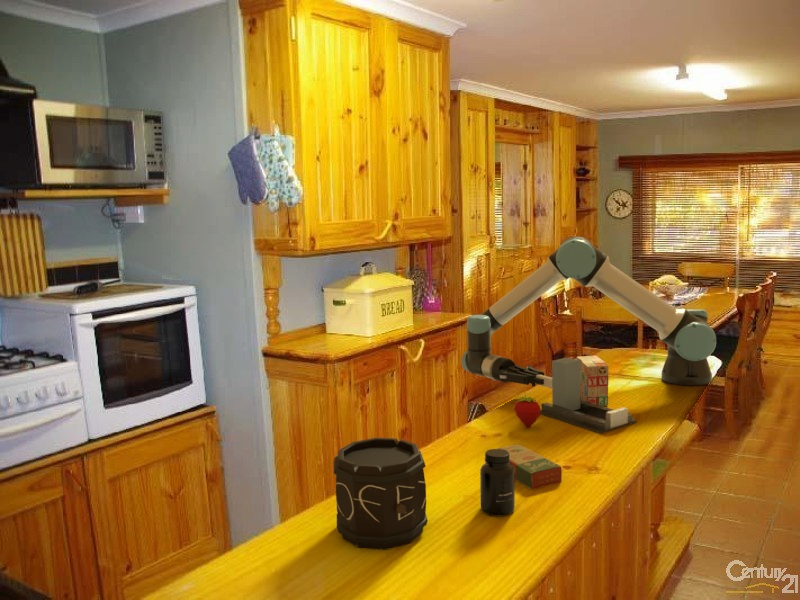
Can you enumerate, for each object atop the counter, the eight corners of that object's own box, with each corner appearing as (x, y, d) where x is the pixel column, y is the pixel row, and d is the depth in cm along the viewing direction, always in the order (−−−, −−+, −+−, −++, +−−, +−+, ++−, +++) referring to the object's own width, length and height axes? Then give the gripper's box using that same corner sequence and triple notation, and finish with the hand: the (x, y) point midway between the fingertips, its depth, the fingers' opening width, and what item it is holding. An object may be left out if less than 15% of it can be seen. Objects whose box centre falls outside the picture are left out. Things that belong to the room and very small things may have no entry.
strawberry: (532, 433, 187) (532, 396, 185) (509, 427, 192) (508, 391, 191) (545, 428, 191) (545, 391, 189) (523, 422, 196) (522, 386, 195)
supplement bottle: (506, 520, 139) (505, 461, 138) (475, 513, 143) (473, 455, 141) (520, 506, 145) (519, 449, 143) (489, 499, 149) (488, 444, 147)
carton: (520, 460, 171) (519, 442, 170) (562, 483, 156) (562, 464, 156) (490, 466, 167) (490, 449, 166) (531, 491, 153) (531, 472, 152)
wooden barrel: (354, 563, 126) (350, 478, 123) (323, 521, 142) (319, 446, 139) (446, 539, 133) (443, 458, 130) (406, 503, 149) (403, 430, 146)
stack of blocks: (568, 387, 229) (568, 349, 227) (588, 386, 229) (588, 348, 227) (587, 407, 208) (587, 365, 206) (608, 406, 208) (608, 364, 206)
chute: (571, 403, 212) (571, 388, 211) (636, 422, 193) (636, 405, 192) (537, 413, 204) (537, 397, 203) (601, 433, 185) (601, 416, 184)
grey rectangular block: (567, 404, 208) (567, 357, 205) (580, 408, 203) (580, 360, 201) (552, 408, 204) (552, 360, 202) (565, 412, 200) (565, 364, 198)
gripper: (515, 376, 230) (570, 392, 211) (483, 384, 223) (537, 400, 204) (514, 353, 229) (569, 367, 210) (483, 360, 222) (537, 374, 202)
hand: (554, 383), depth 207 cm, fingers closed
